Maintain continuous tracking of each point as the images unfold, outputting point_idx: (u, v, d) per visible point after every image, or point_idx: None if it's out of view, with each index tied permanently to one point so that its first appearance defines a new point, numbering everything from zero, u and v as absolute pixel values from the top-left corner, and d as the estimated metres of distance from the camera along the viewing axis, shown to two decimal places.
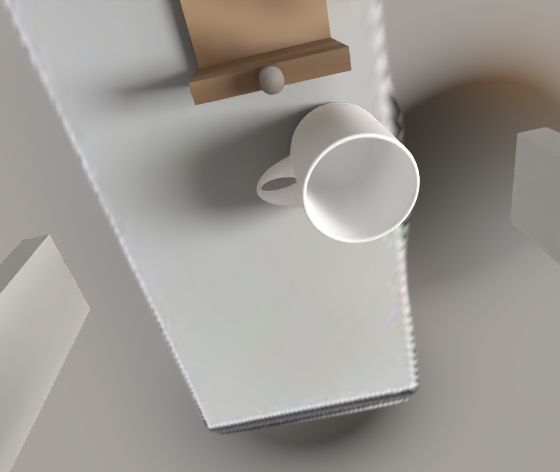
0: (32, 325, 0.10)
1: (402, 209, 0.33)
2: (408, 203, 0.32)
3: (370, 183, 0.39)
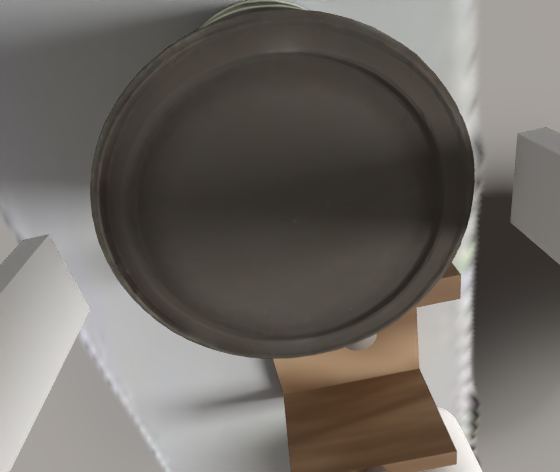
0: (32, 325, 0.10)
1: None
2: None
3: None
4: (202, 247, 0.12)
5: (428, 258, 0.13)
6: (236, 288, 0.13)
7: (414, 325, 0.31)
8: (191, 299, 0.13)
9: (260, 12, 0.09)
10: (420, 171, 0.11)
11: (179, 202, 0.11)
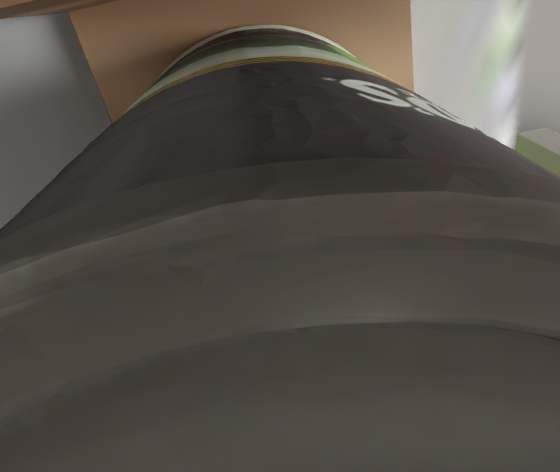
0: None
1: None
2: None
3: None
4: None
5: None
6: None
7: None
8: None
9: (273, 199, 0.02)
10: None
11: None
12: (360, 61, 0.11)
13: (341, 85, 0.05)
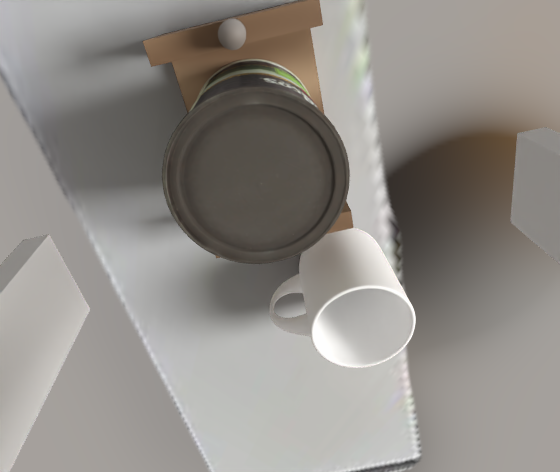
0: (32, 325, 0.10)
1: (400, 338, 0.36)
2: (406, 335, 0.36)
3: (372, 296, 0.43)
4: (215, 197, 0.24)
5: (330, 205, 0.24)
6: (231, 220, 0.25)
7: None
8: (208, 226, 0.25)
9: (243, 87, 0.21)
10: (321, 159, 0.23)
11: (204, 173, 0.23)
12: (284, 73, 0.30)
13: (262, 79, 0.24)
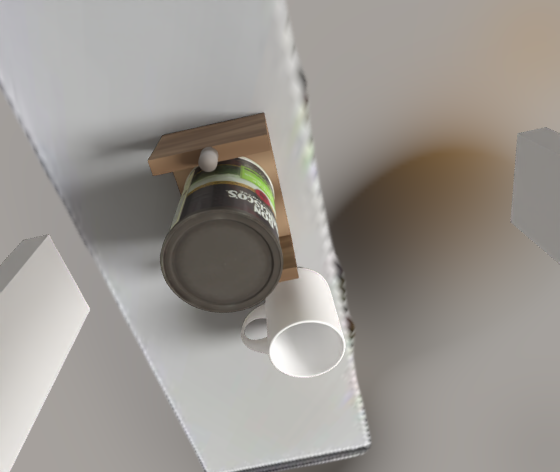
0: (32, 325, 0.10)
1: (336, 356, 0.49)
2: (339, 354, 0.48)
3: None
4: (194, 272, 0.36)
5: (271, 277, 0.37)
6: (206, 285, 0.37)
7: (281, 199, 0.49)
8: (190, 289, 0.37)
9: (211, 210, 0.34)
10: (264, 249, 0.36)
11: (187, 258, 0.36)
12: (247, 172, 0.42)
13: (227, 192, 0.37)
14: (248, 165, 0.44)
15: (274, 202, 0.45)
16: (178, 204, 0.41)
